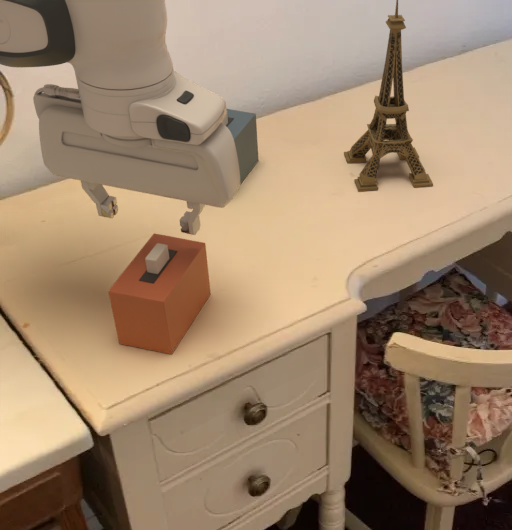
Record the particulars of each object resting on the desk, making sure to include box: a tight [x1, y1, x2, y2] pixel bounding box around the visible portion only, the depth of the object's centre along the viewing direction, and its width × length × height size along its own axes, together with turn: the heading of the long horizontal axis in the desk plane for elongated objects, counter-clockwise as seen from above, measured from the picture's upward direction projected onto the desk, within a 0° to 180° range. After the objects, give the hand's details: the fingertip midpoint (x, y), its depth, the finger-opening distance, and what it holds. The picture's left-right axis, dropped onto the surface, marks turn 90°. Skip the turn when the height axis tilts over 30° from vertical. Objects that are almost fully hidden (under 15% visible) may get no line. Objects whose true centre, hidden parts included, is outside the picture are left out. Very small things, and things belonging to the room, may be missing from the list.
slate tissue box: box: [222, 108, 259, 185], centre depth 112 cm, size 11×6×9 cm, turn 166°
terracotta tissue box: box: [107, 232, 211, 355], centre depth 89 cm, size 11×6×9 cm, turn 167°
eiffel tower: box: [343, 0, 434, 192], centre depth 109 cm, size 11×11×25 cm
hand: (149, 222), depth 89 cm, fingers open, 8 cm apart
